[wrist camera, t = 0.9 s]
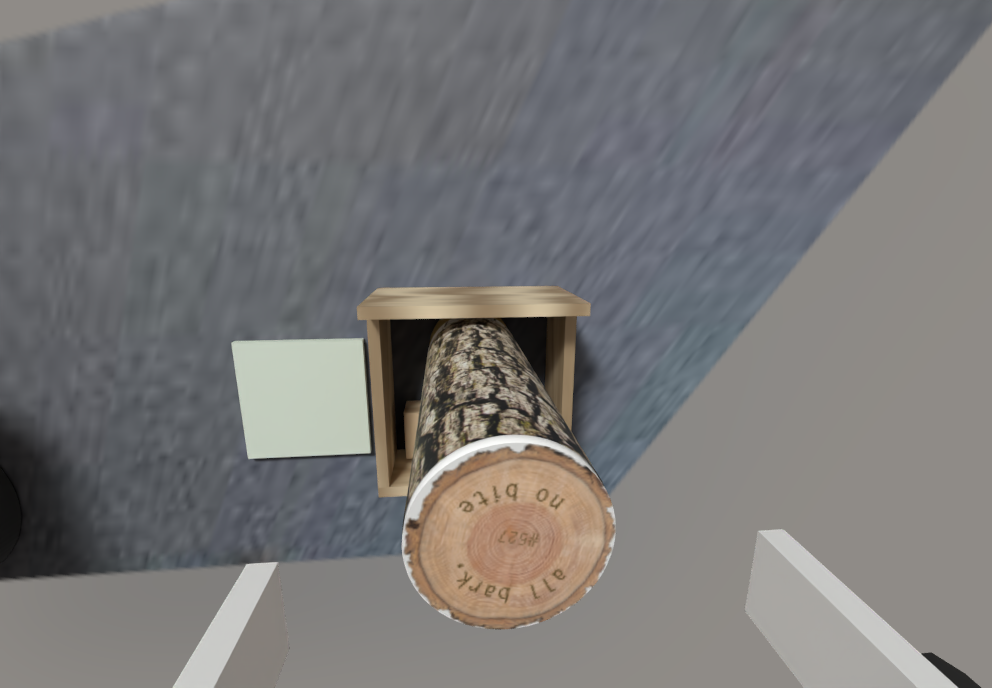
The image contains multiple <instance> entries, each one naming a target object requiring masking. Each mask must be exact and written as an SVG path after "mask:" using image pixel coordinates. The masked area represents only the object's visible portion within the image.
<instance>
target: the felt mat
mask: <svg viewBox="0 0 992 688" xmlns="http://www.w3.org/2000/svg"><path fill="white" fill-rule="evenodd" d="M231 344H232V351H233V358H234V365H235V372H236V378H237V385H238V392H239V399H240V406H241V413H242V420H243V427H244V433H245V440H246V447H247V454H248V459H256V458H277V457H299V456H320V455H341V454H363V453H371V450H372V448H371V434H370V420H369V406H368V392H367V378H366V364H365V350H364V338H354V339H308V340H262V341H234V342H232V343H231Z"/></svg>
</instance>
